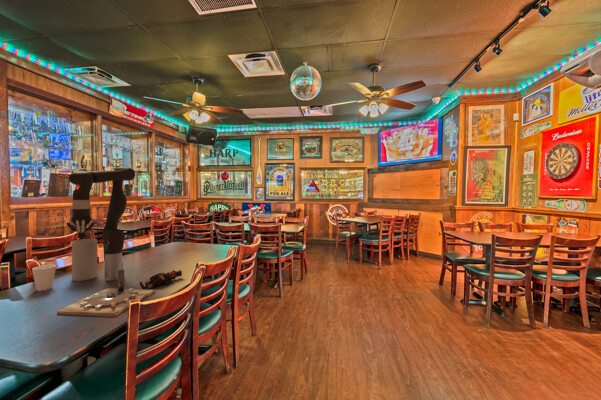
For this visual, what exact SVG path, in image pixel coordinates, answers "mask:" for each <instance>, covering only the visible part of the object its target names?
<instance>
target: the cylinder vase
mask: <svg viewBox="0 0 601 400" xmlns="http://www.w3.org/2000/svg"><path fill="white" fill-rule="evenodd" d="M97 276H98V239H96V238H87V239H85V238H84V239H77V240H76V239H75V240H73V241H71V280H72V281H73V282H85V281H88V280H89V281H90V280H92V279H95V278H97Z"/></svg>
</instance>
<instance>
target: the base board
mask: <svg viewBox="0 0 601 400" xmlns="http://www.w3.org/2000/svg"><path fill="white" fill-rule="evenodd" d="M128 289H129V288H124V290H128ZM133 289H134V291H136V290H138V294H137V297H136V298H130V299H129V301H130V300H135V299H140V300H141V301H142V300H144V299H146V298H147V296H148V297H149V296H150V295H151V296H152V295H153V294H154V293H155V289H142V288H140V289H139V288H138V289H137V288H133ZM106 290H111V291H113V290H118V287H117V288H116V287H108V288H105V289H103V290H100V291H98V292H97V293H103V292H106ZM92 296H93V294H92V295H89V296H87V297H86V298H89V297H92ZM145 297H146V298H145ZM143 298H144V299H143ZM81 302H83V299H80V300H78V301H76V302H74V303H72V304H70V305H67V306H65V307H63V308H61V309H58V310H56V314H57V315H67V316H68V315H70V316H91V317H92V316H93V317H113V318H116V316H118V315H119V314H122V313H123V312H125V311H127V310H129V302H127V303H124V302H122V303H119V304H116V306H115V304H114V305H111V306H106V307H102V308H101V309H96V310H95V307H91V308H88V309H84V306H86V305H84V306H80V303H81ZM84 302H86V301H84Z"/></svg>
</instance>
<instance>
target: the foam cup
mask: <svg viewBox="0 0 601 400" xmlns="http://www.w3.org/2000/svg"><path fill="white" fill-rule="evenodd" d="M56 269H57V265H56V264H45V265H39V266H36V267H32V269H31V270H32V277H33V280H34V285H35V289H36V291H37V290H38V291H37V292H43V291H42V290H45V291H48V290H47V289H49V290H51V289H53V285H54V279H55V275H56ZM50 288H51V289H50Z"/></svg>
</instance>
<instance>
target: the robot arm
mask: <svg viewBox="0 0 601 400" xmlns="http://www.w3.org/2000/svg"><path fill="white" fill-rule="evenodd" d="M135 177H136V172H135V170H134V168H131V167H128V166H127V167H126V166H117V167H116V168H114V170H93V171H79V172H78V171H77V172H72V173H70V174H69V176H68V181H69V182H70V183H71V184H72V185H75V186H78V185H79V186H78V188H77V189H74V190H73V191H72V204H71V211H72V212H71V213H72V216H71V217H72V218H71V219H70V221H69V222H66V223H65V224H66V226H67V227H68V228H69V229H70V230H71V231H72V232H77V238H78V240H84V239H85V238H86V232H88V231H90V230H91V229H92V228H93V227H94V226H95V225H96V224H97V222H96V221H94V220H92V217H91V200H90V199H91V198H90V196H91V194H90V193H91V190H92V187H93V185H94V184H99V183H105V182H106V183H107V182H112V185H111V193H110V197H109V198H110V199H109V202H108V210H107V216H106V221H105V224H104V227H103V229H102V230H103V231H102V234H101V238H102V240H103V241H104V242H106V243H107V244H108V245H107V248H105V249H104V281H106V282H108V281H110V282H111V281H118V270H124V262H123V248H124V245H125V244H124V243H125V241H124V240H125V233H124V231H123V230H122V229H120V228H118V225H119V221H120V219H121V218H122V216H123V215H124V213H125V211H126V208H127V204H128V199H127V196H126V194H125V192H124V188H123V185H124V182H125V181H126V182H129V181H133V180H134V179H135ZM88 225H89V226H88ZM75 226H76V227H75ZM87 226H88V227H87Z"/></svg>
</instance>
